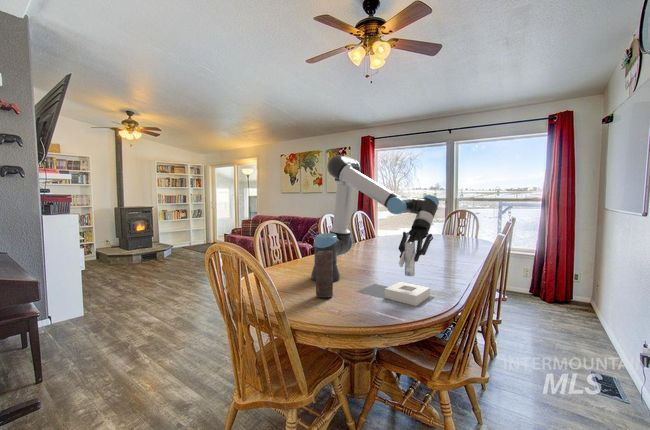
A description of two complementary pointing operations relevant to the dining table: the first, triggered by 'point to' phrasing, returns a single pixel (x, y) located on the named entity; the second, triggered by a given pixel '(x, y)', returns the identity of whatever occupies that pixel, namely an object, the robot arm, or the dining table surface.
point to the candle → (324, 274)
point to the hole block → (407, 293)
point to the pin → (409, 258)
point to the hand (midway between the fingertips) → (405, 266)
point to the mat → (380, 292)
